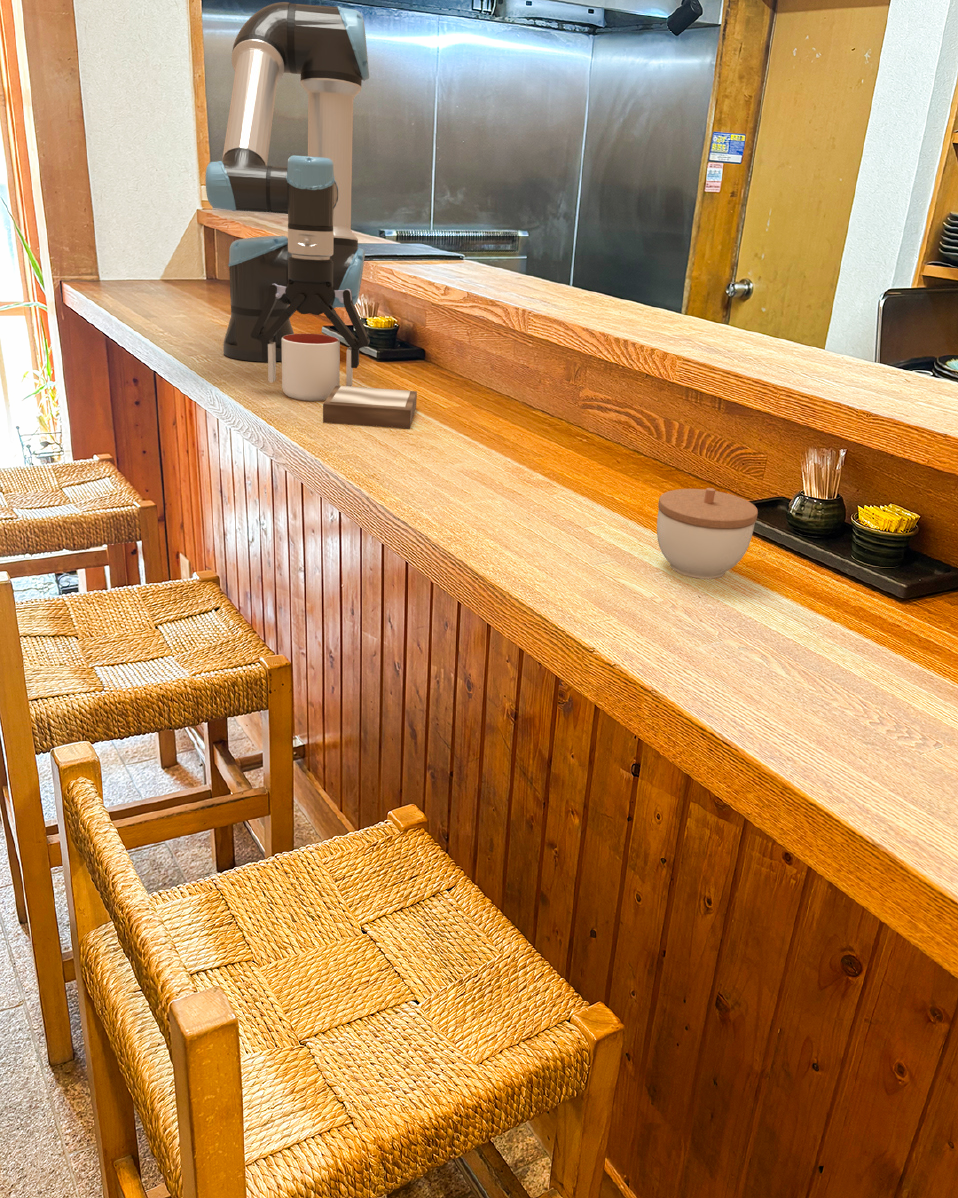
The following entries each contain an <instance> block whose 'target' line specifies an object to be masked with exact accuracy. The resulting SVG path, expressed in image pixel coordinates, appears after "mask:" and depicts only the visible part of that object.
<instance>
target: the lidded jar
mask: <svg viewBox="0 0 958 1198" xmlns="http://www.w3.org/2000/svg"><path fill="white" fill-rule="evenodd" d="M657 503H658V504H657V505H658V507H657V508H658V513H657V521H656V536H657V542H658V547H659V549H660V552H661V553H662V555H663V557H664V559H666V561H667V562H668V563H669V566H670V568H671V569H672V571H674V572H676V573H677V574H680V575H681V576H685V577H689V578H693V579H698V580H700V579H701V580H715V579H719V578H721V577H724V575H725V573H726V572H727V571H730V570H732V568H734V567H735V566H737V564H738V563H739V562H740V561H741V560H742V559H743V558H744V557H745V555H746V553H747V550H748V548H749V546H750V543H751V541H752V537H753V533H754V531H755V530H754V529H755V523H756V522H757V518H758V516H759V515H758V514H759V512H758V511H759V510H758V508H757V507H756V505H755V504H754V503H752V502H750V501H749V500H747V499H745V498H742V497H739V496H736V495H733V494H731V493H727V492H723V491H717V490H716V489H715V488H713V487H706V488H705V489H704V488H703V489H702V488H701V489H700V488H679V489H673V490H668V491H665V492H664V493H662V494H661V495H660V496H659V498H658V502H657Z"/></svg>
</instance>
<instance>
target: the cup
mask: <svg viewBox="0 0 958 1198" xmlns="http://www.w3.org/2000/svg"><path fill="white" fill-rule="evenodd" d="M340 340H341V339H339V338H338V337H335V336H331V335H327V334H318V333H294V334H290V335H285V336H283V337H282V338H281V342H282V361H281V387H282V388H281V389H282V391H283V394H285V395H286V396H287V397H289V398H291V399H295V400H298V401H299V400H300V401H307V402H308V401H309V402H318V401H319V402H320V401H326V399H327V398H328V396H329V395H330V393H331V392H332V391H333V389H334V388H335V386H340V370H341V369H340V367H341V366H340V363H341V361H340V360H341V359H340V357H341V355H340V354H341V350H340V349H341V341H340Z"/></svg>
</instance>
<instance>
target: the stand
mask: <svg viewBox="0 0 958 1198" xmlns="http://www.w3.org/2000/svg"><path fill="white" fill-rule="evenodd" d="M417 393H418V392H417V391H416V390H403V389H390V388H377V387H376V388H374V387H362V386H346V385H339V386H335V388H334V389H333V391H332V392H331V393H330V395H329V396H328V398H327V399H326V400H324V402H323V404H322V423H325V424H339V425H352V426H353V425H354V426H364V427H365V426H367V427H380V428H381V427H382V428H395V429H407V430H409V429H411V427H412V423H413V419H414V416H415V413H416V410H417V397H418V396H417Z"/></svg>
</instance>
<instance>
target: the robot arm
mask: <svg viewBox="0 0 958 1198" xmlns="http://www.w3.org/2000/svg"><path fill="white" fill-rule="evenodd" d="M366 37H367V36H366V26H365V20H364V17H363V14H362V13H361V12H360V11H359V10H356V9H352V8H346V7H341V6H339V5H338V6H330V5H318V4H317V5H316V4H303V3H291V2H287V1H281V2H275V3H272V4H268V5H267V6H264V7H262V8H261V9H260V10H258V11H257V12H255V13H254V14H253V15H252V16H251V17H249V19H247V21H246V22H245V23H244V24H243V26H242V27H241V28H240V30H239V31H238V33H237V35H236V38H235V40H234V43H233V45H232V51H231V52H232V53H231V64H232V69H233V70H234V78H233V86H232V92H231V99H230V104H229V105H230V106H229V112H228V119H227V124H226V132H225V139H224V145H223V146H224V147H223V153H222V159H221V160H218V161H210V162H209V163H208V165H207V166H206V169H205V181H204V182H205V193H206V197H207V201H208V203H209V205H210V206H211V207H212V208H215V209H219V210H220V209H221V210H226V211H232V212H253V213H270V214H271V213H273V214H279V215H280V214H283V215H287V236H286V235H267V236H265V235H264V236H255V237H247V238H239V239H236V240H234V241H232V242H231V244H230V246H229V250H228V251H229V254H228V255H229V257H228V258H229V259H228V265H227V266H228V271H229V290H230V291H229V292H230V293H229V294H230V318H229V322H228V325H227V329H226V333H225V336H224V339H223V343H222V344H223V355H224V356H226V357H228V358H230V359H231V358H232V359H235V360H239V361H240V360H242V361H247V362H248V361H249V362H264V363H265V362H266V363H267V364H268V369H267V371H268V372H267V373H268V374H267V375H268V383H274V382H275V381H276V380H277V367H276V366H277V365H276V363H277V362H282V342H281V338H282V337H283V336H285V335H290V334H295V332H294V330H293V325H292V323H291V320H290V319H291V317H292V316H293V315H294V314H295V313H296V311H297V313H300V314H301V315H308V314H311V315H314V316H320V315H322V314H324V316H325V317H326V318H327V319H329V321H330V323H332V325H333V326H334V327H335V329H336V330H337V331H338V333H339V334H340V336H342V338H343V339H344V340H345V341H346V343H347V344H348V346H349V347H347V349H346V362H345V363H346V368H345V369H346V372H345V373H346V374H345V375H346V376H345V381H346V383H345V386H351V387H353V381H354V380H353V378H354V377H353V373H354V369H358V367H359V365H360V349H362V348H366V347H368V346H369V344H370V342H371V340H370V338H369V335H368V333H367V331H366V328H365V326H364V325H363V322H362V320H361V317H360V315H359V312H358V311H357V309H356V304H357V303H358V300H359V296H360V292H361V291H360V290H361V285H362V279H363V271H364V265H365V258H366V255H365V254H366V252H365V250H364V249H363V248H361V247H359V238H358V237H357V236H356V235H355V234H354V233H353V231H352V229H351V227H352V226H351V225H352V224H351V223H352V184H353V183H352V182H353V181H352V177H353V175H352V174H353V173H352V171H353V168H352V166H353V132H354V131H353V128H354V126H353V125H354V123H353V122H354V120H353V119H354V99H355V98H356V97H357V95H358V94H360V92H361V91H362V84H363V82H362V81H367V80H369V78H370V72H369V71H370V70H369V59H368V58H369V57H368V56H369V55H368V47H367V38H366ZM286 73H287V74H295V75H300V86H301V87H302V88H303V89H304V91H305V92H306V93H307V95H308V96H307V98H308V99H307V100H308V111H307V112H308V114H307V117H308V118H307V127H308V128H307V156H306V155H291V156H289V158H288V159H287V166H277V165H276V166H274V165H268V161H269V159H268V158H269V151H270V145H271V144H270V143H271V136H272V135H271V134H272V124H273V117H274V109H275V102H276V96H277V95H276V93H277V84H278V83H279V82H280V81H281V80H282V79H283V76H284V74H286ZM358 247H359V248H358ZM336 308H340V309H341V308H344V309H345V312H346V313H347V316H348V318H349V321H351V322H350V323H351V325H352V326H353V328H354V331H355V332H356V335H357V337H358V338H356V336H355V335H354V334H353V332H352V331H351V329H349V327H348V326H347V324H346V323H345V322H344V321H343V319H342V318H341V317H340V315H339V314H338V313H337V311H336V310H335V309H336Z"/></svg>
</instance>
